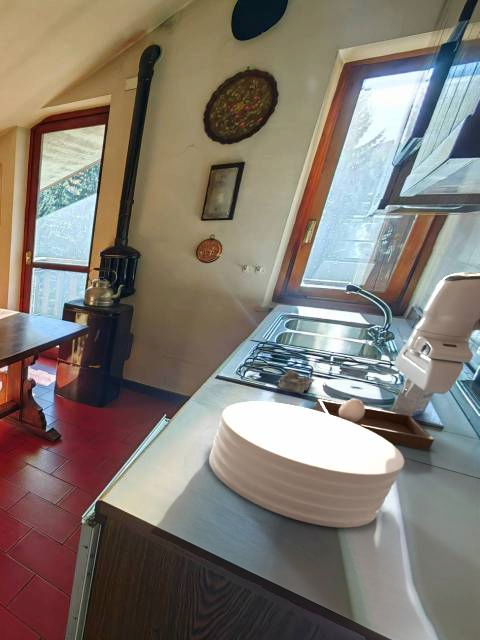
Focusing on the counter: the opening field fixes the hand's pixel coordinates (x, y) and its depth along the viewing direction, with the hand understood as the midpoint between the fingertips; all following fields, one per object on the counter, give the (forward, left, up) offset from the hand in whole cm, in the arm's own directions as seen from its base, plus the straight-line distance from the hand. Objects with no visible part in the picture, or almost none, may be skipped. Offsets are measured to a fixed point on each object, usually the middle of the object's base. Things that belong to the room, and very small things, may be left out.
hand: (407, 396), depth 97 cm
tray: (+5, 0, -10) cm, 11 cm away
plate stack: (+27, +39, -10) cm, 49 cm away
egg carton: (+17, -24, -10) cm, 31 cm away
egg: (+9, 0, -10) cm, 13 cm away
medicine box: (-8, -18, -10) cm, 22 cm away
